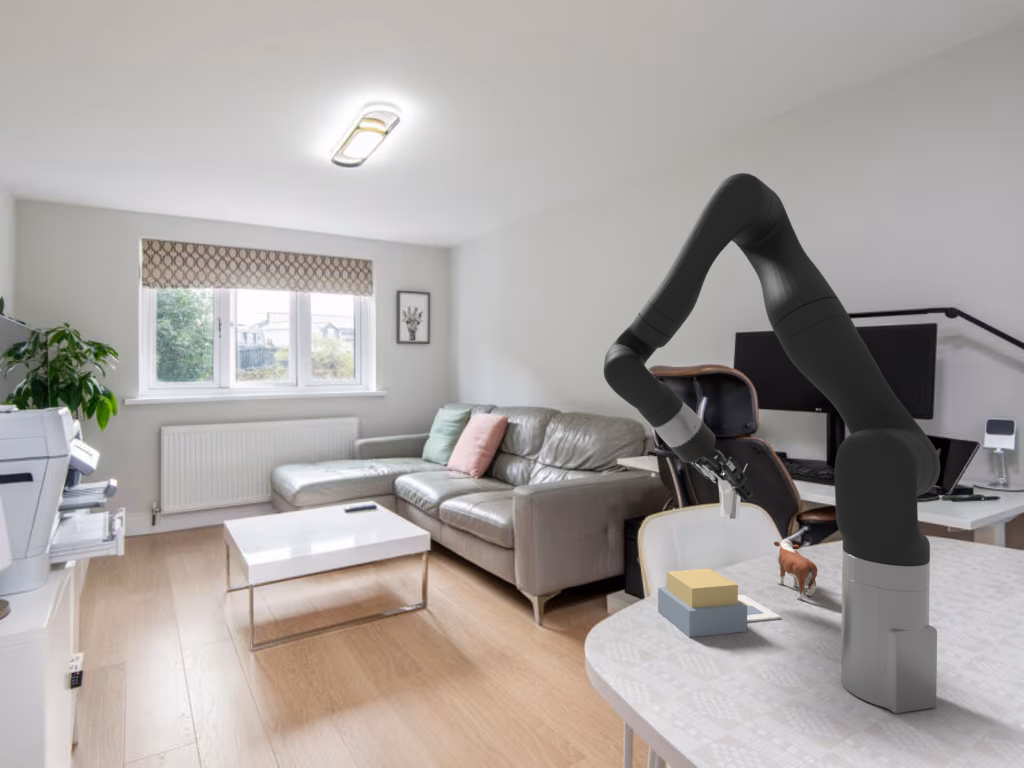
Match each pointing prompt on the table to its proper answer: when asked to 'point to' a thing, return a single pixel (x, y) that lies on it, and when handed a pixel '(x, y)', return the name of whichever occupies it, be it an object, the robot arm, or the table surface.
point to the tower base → (702, 616)
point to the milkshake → (728, 500)
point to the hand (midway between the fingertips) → (741, 494)
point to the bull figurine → (796, 568)
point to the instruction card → (757, 610)
